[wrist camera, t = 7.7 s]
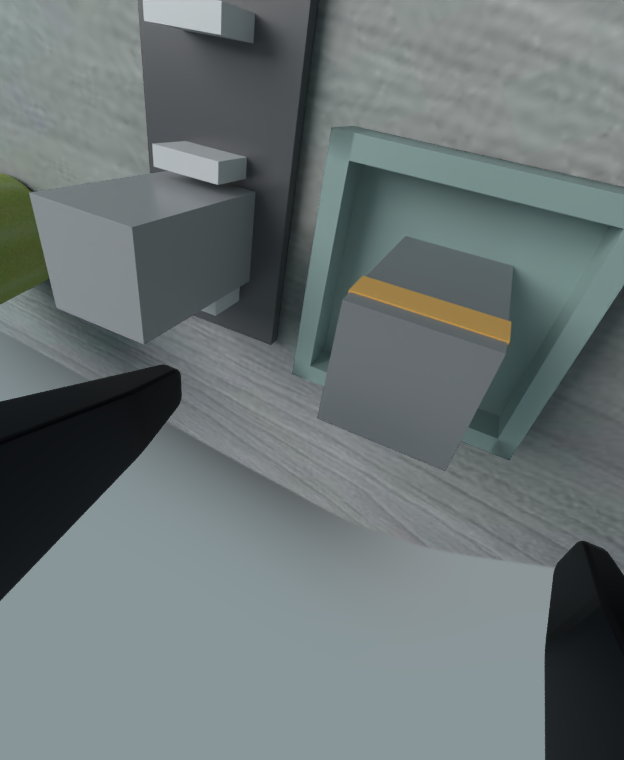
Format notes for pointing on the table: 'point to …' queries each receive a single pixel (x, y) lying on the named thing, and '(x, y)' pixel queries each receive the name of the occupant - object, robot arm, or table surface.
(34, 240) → the plant pot
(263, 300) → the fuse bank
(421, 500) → the table surface
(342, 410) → the block
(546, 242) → the tray
